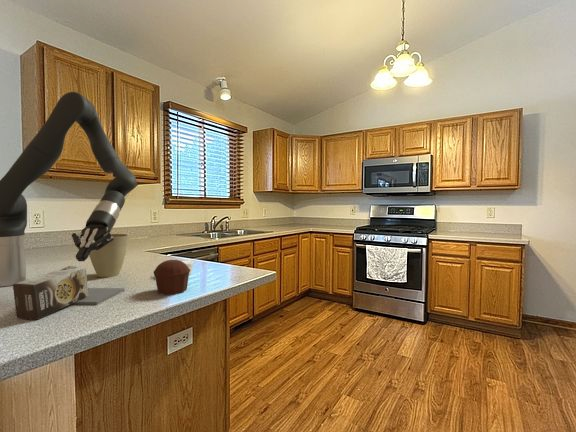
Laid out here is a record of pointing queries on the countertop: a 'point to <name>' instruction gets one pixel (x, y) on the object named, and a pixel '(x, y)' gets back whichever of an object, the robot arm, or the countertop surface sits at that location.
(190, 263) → the ramekin
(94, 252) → the plant pot
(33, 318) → the coffee box
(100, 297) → the mat
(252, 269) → the countertop surface
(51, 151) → the robot arm
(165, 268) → the muffin
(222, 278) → the countertop surface
